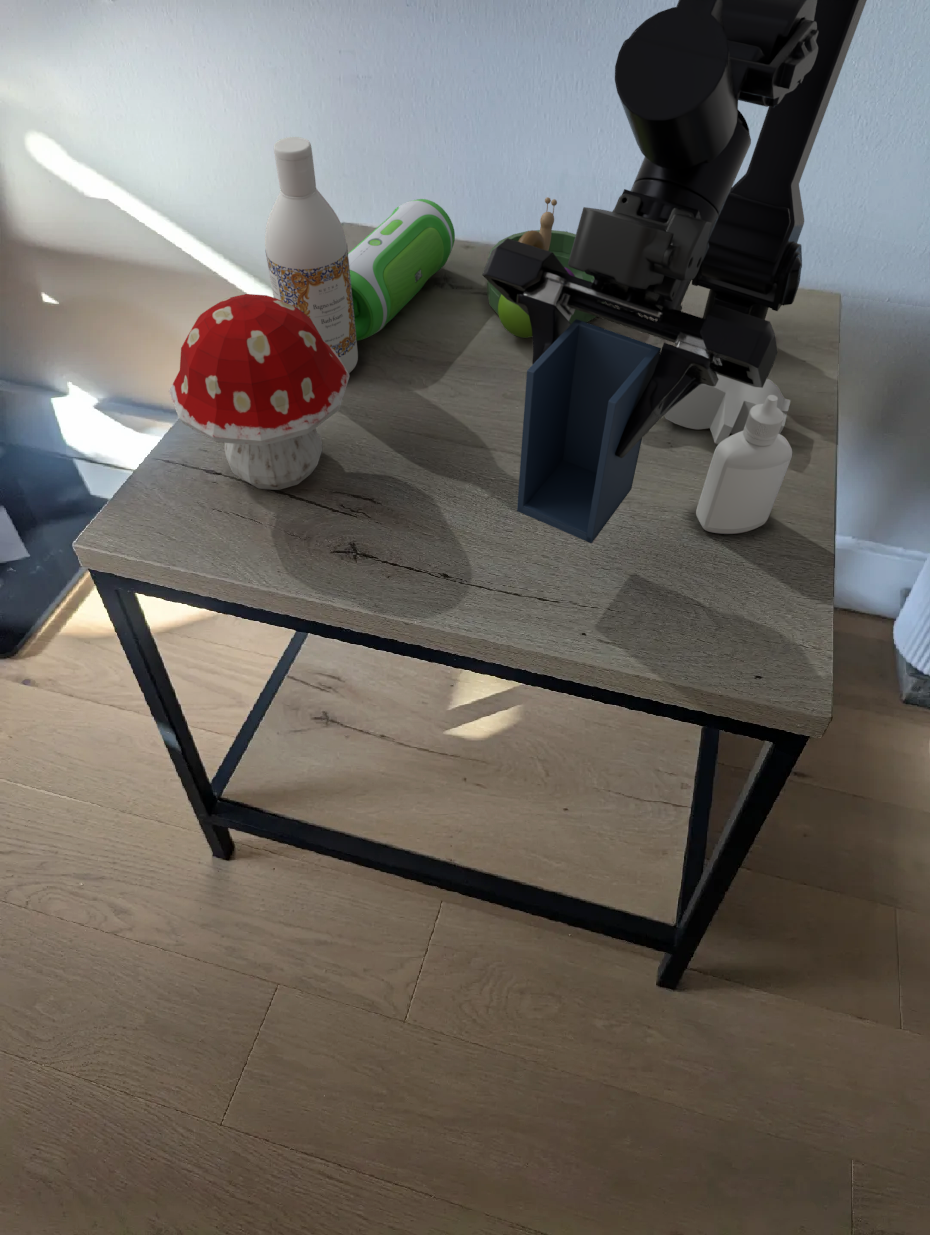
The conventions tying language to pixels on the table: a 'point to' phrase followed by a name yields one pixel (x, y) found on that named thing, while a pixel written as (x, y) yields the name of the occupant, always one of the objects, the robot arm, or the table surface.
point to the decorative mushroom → (259, 387)
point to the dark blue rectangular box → (581, 427)
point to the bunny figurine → (723, 406)
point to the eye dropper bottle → (746, 473)
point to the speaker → (397, 262)
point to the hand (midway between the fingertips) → (574, 439)
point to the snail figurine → (507, 310)
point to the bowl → (562, 250)
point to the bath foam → (310, 251)
